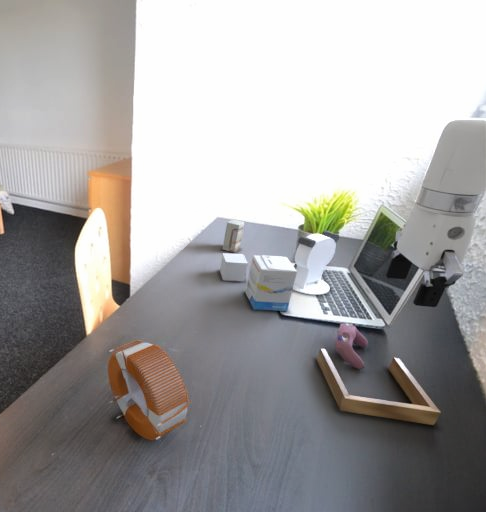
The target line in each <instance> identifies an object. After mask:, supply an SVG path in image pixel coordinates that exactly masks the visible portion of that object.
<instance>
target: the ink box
mask: <svg viewBox="0 0 486 512" xmlns="http://www.w3.org/2000/svg"><path fill="white" fill-rule="evenodd" d="M296 274H297V271H296V269H295V268H294V265H293V264H292V262H291V261H290V260H289V258H288V257H287V256H280V255H265V254H263V255H259V254H258V255H255V254H254V255H252V258H251V262H250V267H249V273H248V278H247V283H246V288H245V295H246V297H247V298H248V301H249V302H250V304H251V307H252V309H253V310H263V311H275V312H288V309H289V305H290V302H291V297H292V294H293V291H294V290H293V286H294V282H295V278H296Z"/></svg>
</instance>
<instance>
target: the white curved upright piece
mask: <svg viewBox="0 0 486 512" xmlns="http://www.w3.org/2000/svg"><path fill="white" fill-rule="evenodd" d="M339 240H340V235H339V234H338V233H335V232H333V231H332V232H331V231H328V230H325V229H324V230H323V231H322V233H321V234H320V233H311V234H308V235H307V236H303V235H301V236H300V237H299V238H298V241H297V242H298V244H299V245H298V246H297V248H296V251H295V254H294V262H295V264H294V265H293V267H294V268H295V269H296V271H297V274H296V278H295V282H294V286H293V290H292V291H295V292H298V293H301V294H306V295H310V296H320V295H325V294H327V293H329V292H330V285H329V283H327V282H326V281H324V280H323V279H322V276H323V274H324V271H325V268H326V266H327V265H328V264H329V263H330V262H331V260H332V259H333V257H334V256H335V253H336V247H337V246H336V243H338V242H339Z"/></svg>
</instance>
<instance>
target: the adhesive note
mask: <svg viewBox="0 0 486 512" xmlns="http://www.w3.org/2000/svg"><path fill="white" fill-rule="evenodd" d="M220 261H221V262H220V268H219V272H220V275H221V279H222V280H223V281H231V282H245V281H246V276H247V271H248V265H249V262H248V261H247V259H246V256H245V254H244V253H228V252H227V253H226V252H225V253H224V252H223V253H222V255H221V260H220Z"/></svg>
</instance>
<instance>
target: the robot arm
mask: <svg viewBox="0 0 486 512" xmlns="http://www.w3.org/2000/svg"><path fill="white" fill-rule="evenodd" d="M485 193H486V117H484V118H483V117H463V118H456V119H452V120H449V121H448V122H446V123H445V124H444V126H443V127H442V129H441V131H440V134H439V137H438V139H437V142H436V144H435V147H434V149H433V153H432V155H431V157H430V160H429V163H428V166H427V167H426V170H425V173H424V176H423V179H422V181H421V184H420V186H419V189H418V192H417V194H416V197H415V200H414V202H413V206H412V208H411V210H410V212H409V214H408V216H407V218H406V220H405V222H404V224H403V227H402V229H399V230H396V232H395V239H394V240H395V241H394V242H393V251H392V253H391V257H392V258H391V260H390V263H389V264H388V268H387V271H386V273H385V277H386V278H387V279H394V280H395V279H396V280H406V279H407V277H408V276H409V272H410V270H411V267H412V265H413V264H414V265H415V266H416V267H417V268H418V269H420V270H421V271H423V276H424V277H423V279H424V283H420V285H419V287H418V290H417V292H416V294H415V297H414V299H413V301H412V303H413V305H414V306H416V307H426V308H427V307H429V308H436V307H437V306H438V305H439V303H440V300H441V298H442V296H443V294H444V292H445V290H446V289H449V288H450V286H453V285H455V284H456V282H457V281H458V280H460V279H461V278H462V277H463V276H464V270H463V269H462V264H463V262H464V259H465V258H466V254H467V253H468V252H467V251H468V249H469V246H470V243H471V241H472V238H473V234H474V231H475V226H476V219H477V216H476V213H477V211H478V209H479V206H480V205H481V202H482V201H483V198H484V196H485ZM432 266H434V267H432ZM434 274H439V276H437V277H435V278H434Z"/></svg>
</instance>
